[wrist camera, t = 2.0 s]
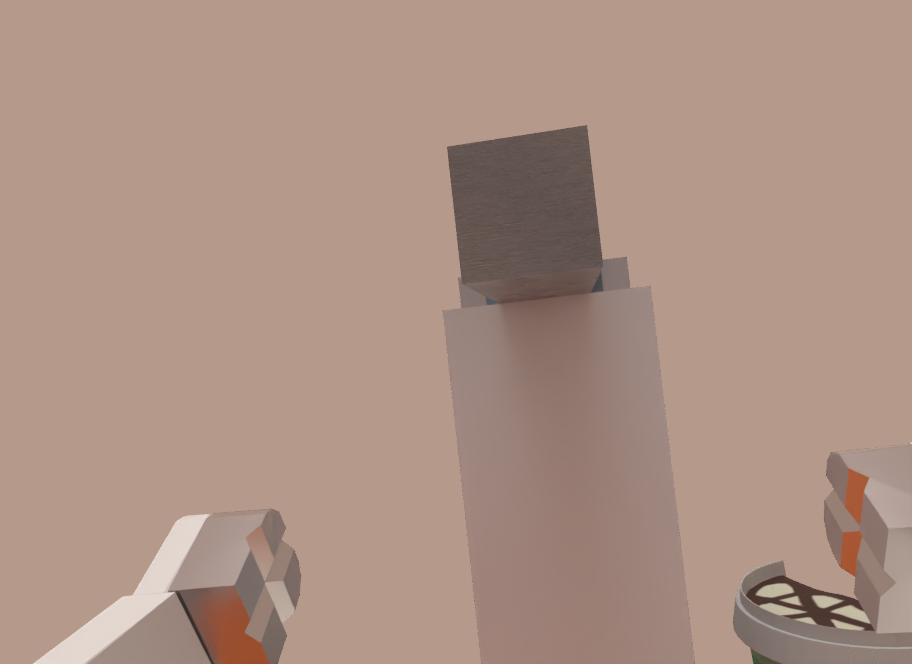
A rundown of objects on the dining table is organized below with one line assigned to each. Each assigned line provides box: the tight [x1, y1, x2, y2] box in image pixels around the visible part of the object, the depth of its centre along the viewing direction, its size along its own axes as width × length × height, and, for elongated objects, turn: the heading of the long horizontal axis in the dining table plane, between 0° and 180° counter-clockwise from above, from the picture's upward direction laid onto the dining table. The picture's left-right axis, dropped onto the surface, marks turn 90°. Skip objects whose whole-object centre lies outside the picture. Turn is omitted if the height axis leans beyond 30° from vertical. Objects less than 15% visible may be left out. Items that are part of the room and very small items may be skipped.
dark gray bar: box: [447, 126, 603, 304], centre depth 30 cm, size 4×24×4 cm, turn 171°
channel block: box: [443, 257, 695, 664], centre depth 35 cm, size 8×16×27 cm, turn 171°
